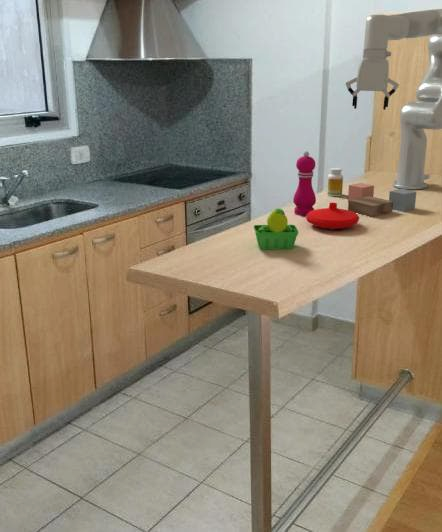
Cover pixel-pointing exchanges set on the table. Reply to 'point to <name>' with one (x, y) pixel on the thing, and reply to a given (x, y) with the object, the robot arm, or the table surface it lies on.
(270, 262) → the table surface
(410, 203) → the grey cube
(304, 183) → the pepper mill
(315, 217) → the flat cone with hole
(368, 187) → the salmon pink cube
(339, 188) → the supplement bottle
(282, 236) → the fruit basket
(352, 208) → the walnut block
